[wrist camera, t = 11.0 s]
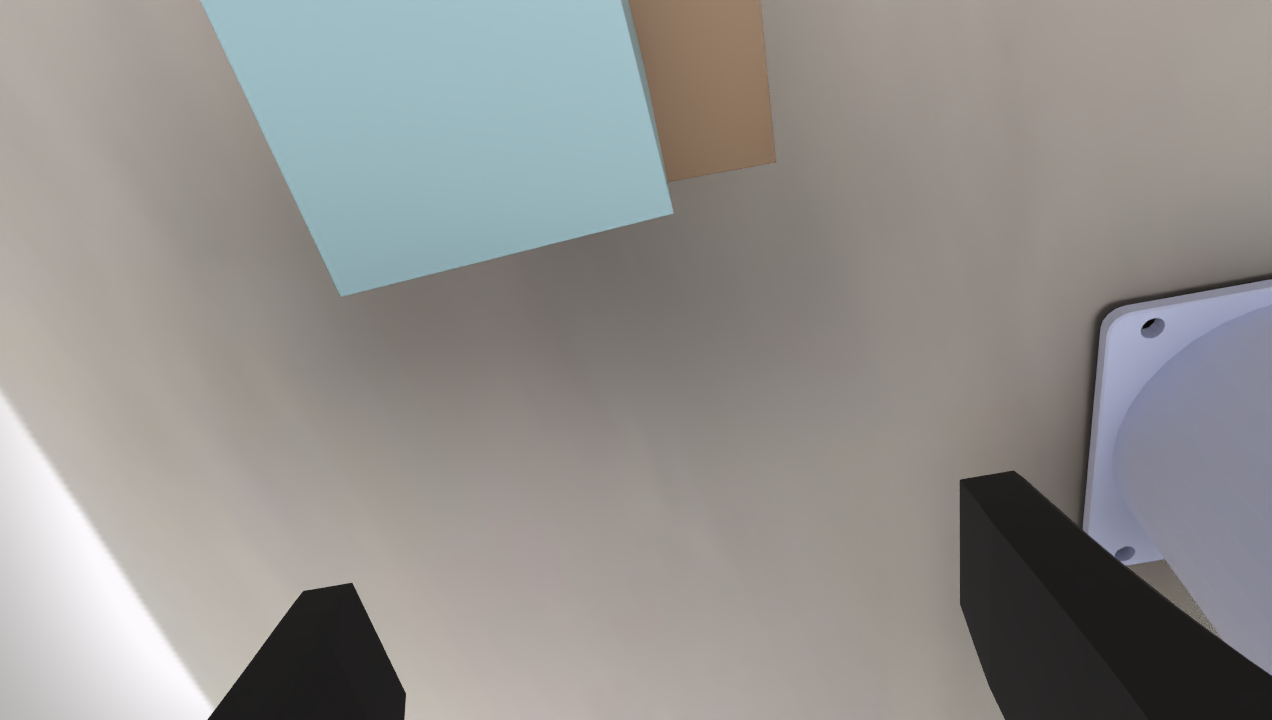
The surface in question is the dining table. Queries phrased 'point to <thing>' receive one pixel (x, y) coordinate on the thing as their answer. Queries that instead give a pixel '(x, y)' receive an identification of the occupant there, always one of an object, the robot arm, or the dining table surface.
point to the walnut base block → (706, 83)
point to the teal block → (448, 125)
